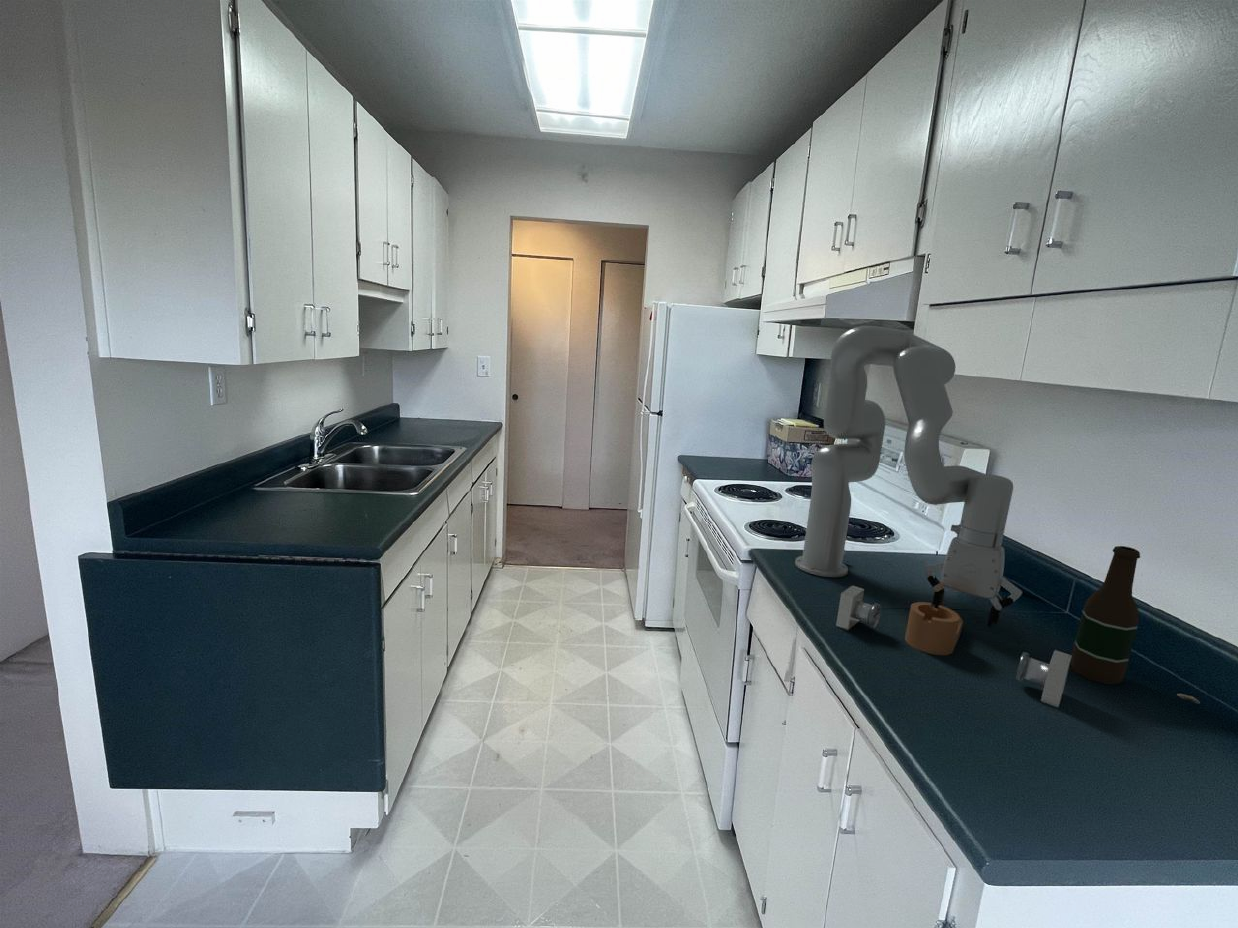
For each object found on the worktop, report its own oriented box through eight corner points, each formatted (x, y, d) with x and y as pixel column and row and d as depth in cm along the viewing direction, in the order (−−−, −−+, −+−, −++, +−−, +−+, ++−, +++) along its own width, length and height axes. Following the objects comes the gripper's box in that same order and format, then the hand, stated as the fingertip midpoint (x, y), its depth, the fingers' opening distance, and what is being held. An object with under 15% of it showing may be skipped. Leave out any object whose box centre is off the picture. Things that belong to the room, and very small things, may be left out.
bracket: (949, 661, 111) (956, 626, 110) (900, 645, 116) (906, 611, 115) (963, 627, 126) (969, 596, 124) (919, 614, 130) (925, 584, 129)
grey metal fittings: (847, 616, 126) (852, 585, 125) (1062, 693, 103) (1072, 655, 101) (836, 625, 122) (841, 593, 120) (1058, 707, 98) (1068, 668, 97)
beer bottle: (1088, 683, 106) (1121, 554, 101) (1058, 660, 114) (1088, 539, 109) (1133, 688, 106) (1169, 558, 101) (1101, 664, 114) (1133, 542, 109)
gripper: (927, 529, 123) (913, 607, 126) (1028, 553, 112) (1009, 638, 115) (937, 522, 128) (923, 597, 132) (1034, 544, 117) (1016, 626, 121)
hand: (963, 616), depth 123 cm, fingers open, 9 cm apart
